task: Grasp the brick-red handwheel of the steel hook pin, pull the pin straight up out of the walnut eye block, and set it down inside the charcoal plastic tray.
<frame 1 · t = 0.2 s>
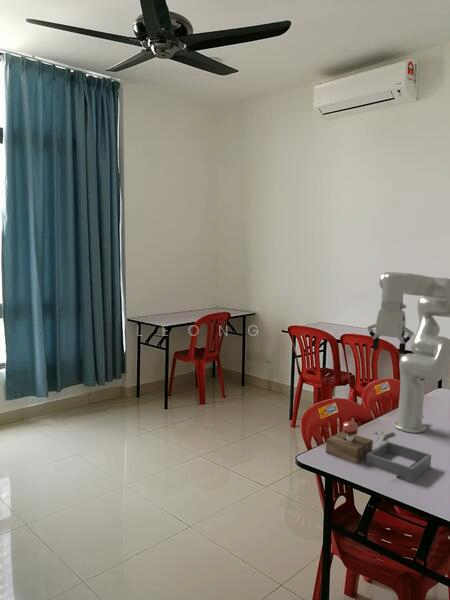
hand: (388, 351, 182), 36 cm above the table, tool pointing down, fingers open, 9 cm apart
hook pin: (348, 452, 174), point 1 cm above the table, touching eye block
tray: (398, 466, 166), on the table
eye block: (348, 455, 174), on the table
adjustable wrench: (378, 442, 189), on the table
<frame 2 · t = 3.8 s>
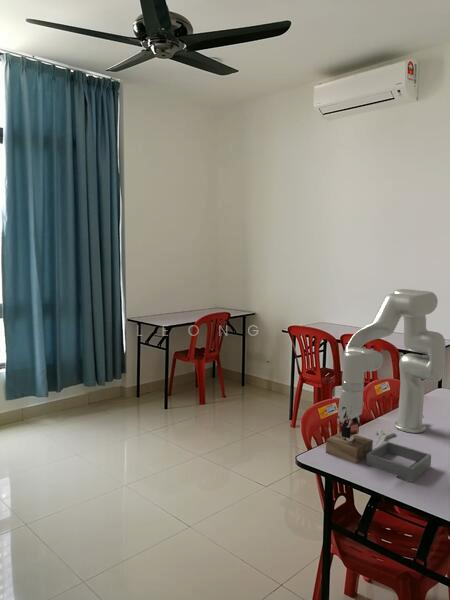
hand: (349, 434, 174), 8 cm above the table, tool pointing down, fingers closed on hook pin, 5 cm apart
hook pin: (348, 452, 174), point 1 cm above the table, touching eye block, gripper
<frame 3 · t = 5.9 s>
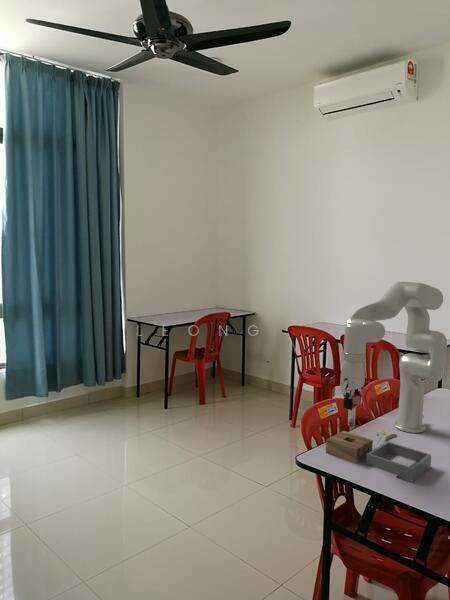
hand: (352, 406, 173), 18 cm above the table, tool pointing down, fingers closed on hook pin, 5 cm apart
hook pin: (351, 424, 173), point 11 cm above the table, touching gripper
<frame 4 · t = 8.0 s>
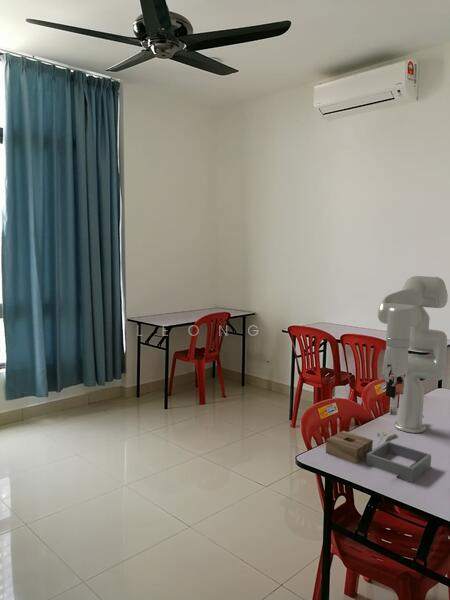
hand: (394, 394, 165), 25 cm above the table, tool pointing down, fingers closed on hook pin, 5 cm apart
hook pin: (393, 414, 166), point 18 cm above the table, touching gripper
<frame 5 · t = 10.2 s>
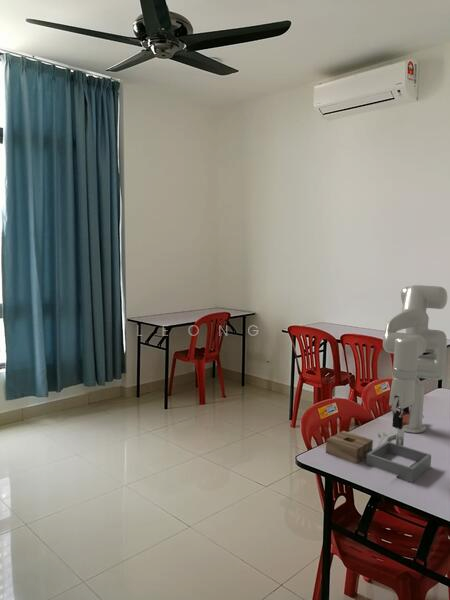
hand: (400, 425, 165), 15 cm above the table, tool pointing down, fingers closed on hook pin, 5 cm apart
hook pin: (399, 444, 165), point 8 cm above the table, touching gripper
when the fingers open (10 cm above the table, at t = 12.1 s): hook pin drops 2 cm, resting on tray.
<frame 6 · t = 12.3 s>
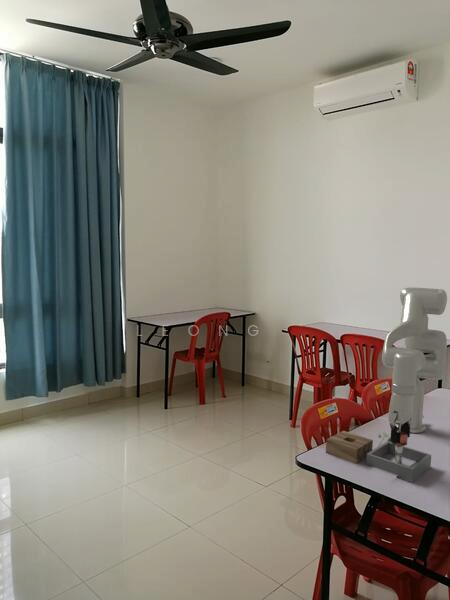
hand: (400, 438, 165), 10 cm above the table, tool pointing down, fingers open, 7 cm apart
hook pin: (398, 464, 166), point 1 cm above the table, touching tray
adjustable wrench: (381, 445, 186), on the table, touching tray
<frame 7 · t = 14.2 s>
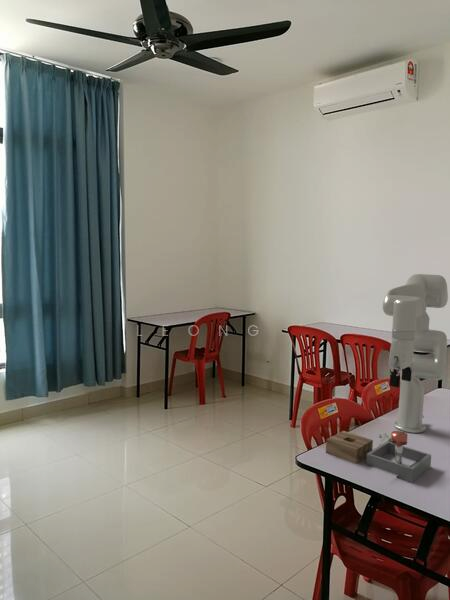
hand: (400, 383, 166), 29 cm above the table, tool pointing down, fingers open, 9 cm apart
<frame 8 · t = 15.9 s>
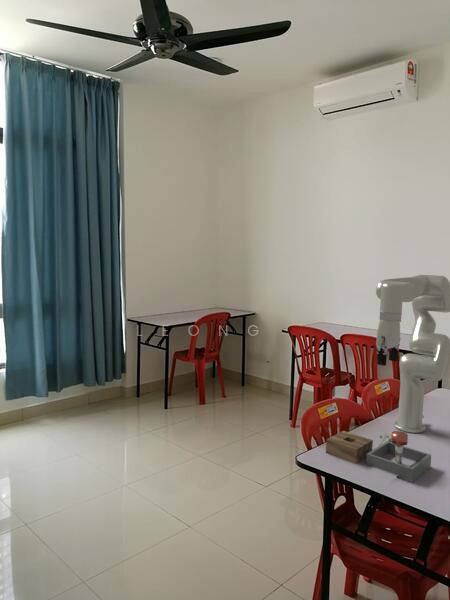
hand: (387, 362, 177), 33 cm above the table, tool pointing down, fingers open, 9 cm apart
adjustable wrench: (382, 446, 185), on the table
everything else where it was.
at the end: hook pin inside the target area on the tray (0.0 cm from its centre), point 0.8 cm above the tray's base; the gripper is holding nothing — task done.
